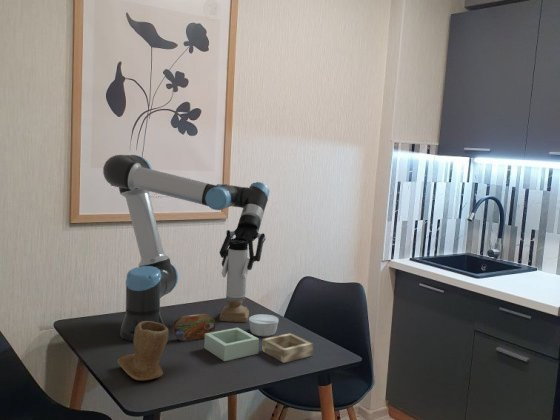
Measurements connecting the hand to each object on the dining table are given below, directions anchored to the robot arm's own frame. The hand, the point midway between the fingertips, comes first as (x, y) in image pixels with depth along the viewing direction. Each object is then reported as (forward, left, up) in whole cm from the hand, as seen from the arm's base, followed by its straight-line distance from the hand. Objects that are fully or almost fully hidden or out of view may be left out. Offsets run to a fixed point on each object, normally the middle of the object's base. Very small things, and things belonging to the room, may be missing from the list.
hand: (233, 275), depth 166 cm
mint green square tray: (+2, +3, -26) cm, 26 cm away
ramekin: (+22, +13, -27) cm, 37 cm away
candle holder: (+22, +33, -26) cm, 48 cm away
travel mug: (+3, +2, -9) cm, 9 cm away
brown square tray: (+17, -8, -26) cm, 32 cm away
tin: (-3, +20, -27) cm, 33 cm away
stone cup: (-29, +1, -26) cm, 39 cm away
